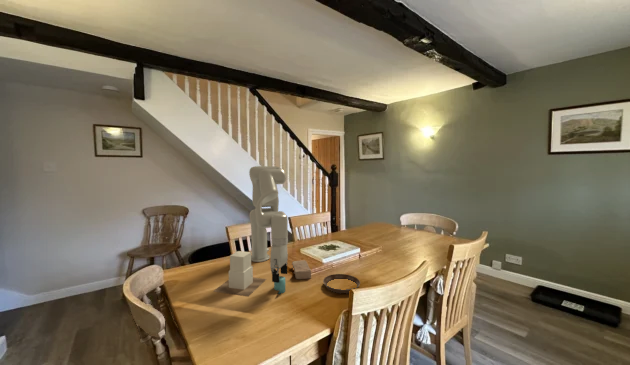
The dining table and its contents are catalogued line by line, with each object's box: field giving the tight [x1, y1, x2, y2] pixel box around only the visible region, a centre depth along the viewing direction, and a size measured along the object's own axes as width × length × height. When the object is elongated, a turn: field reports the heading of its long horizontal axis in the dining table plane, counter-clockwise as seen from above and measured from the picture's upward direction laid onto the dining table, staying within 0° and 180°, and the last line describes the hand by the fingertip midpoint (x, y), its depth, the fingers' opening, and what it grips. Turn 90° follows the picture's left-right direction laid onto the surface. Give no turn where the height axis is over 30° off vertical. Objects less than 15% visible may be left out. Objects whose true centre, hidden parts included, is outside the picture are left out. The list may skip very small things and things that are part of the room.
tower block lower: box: [228, 265, 254, 290], centre depth 122 cm, size 8×8×8 cm
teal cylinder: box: [273, 275, 286, 295], centre depth 120 cm, size 5×5×6 cm
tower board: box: [213, 276, 267, 298], centre depth 123 cm, size 18×18×2 cm
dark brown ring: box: [322, 273, 361, 294], centre depth 124 cm, size 18×18×3 cm
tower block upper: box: [229, 250, 252, 272], centre depth 122 cm, size 7×7×7 cm
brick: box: [291, 259, 312, 280], centre depth 140 cm, size 17×8×5 cm, turn 12°
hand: (280, 277), depth 119 cm, fingers open, 9 cm apart
